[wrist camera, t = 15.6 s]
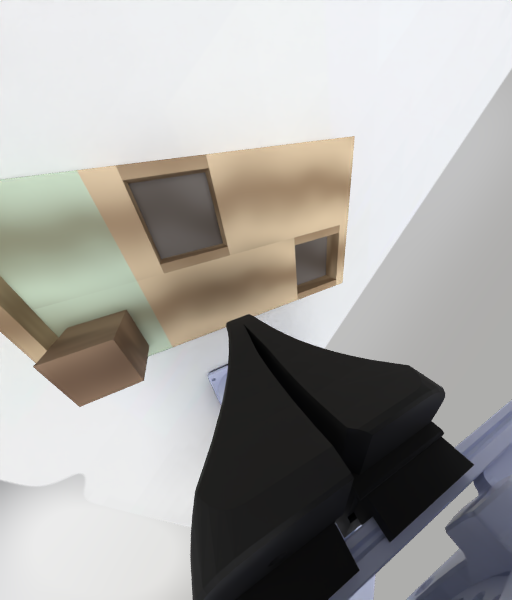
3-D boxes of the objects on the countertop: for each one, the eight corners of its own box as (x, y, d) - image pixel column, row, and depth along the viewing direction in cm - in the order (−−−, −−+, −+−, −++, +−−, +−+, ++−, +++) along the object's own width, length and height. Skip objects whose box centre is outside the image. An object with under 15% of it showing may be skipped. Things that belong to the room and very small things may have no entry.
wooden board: (330, 277, 24) (352, 287, 21) (90, 365, 17) (74, 396, 14) (337, 143, 17) (370, 129, 14) (-65, 195, 10) (-159, 191, 7)
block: (149, 346, 16) (143, 380, 13) (99, 364, 15) (79, 406, 12) (126, 309, 14) (113, 339, 11) (67, 327, 13) (32, 366, 10)
